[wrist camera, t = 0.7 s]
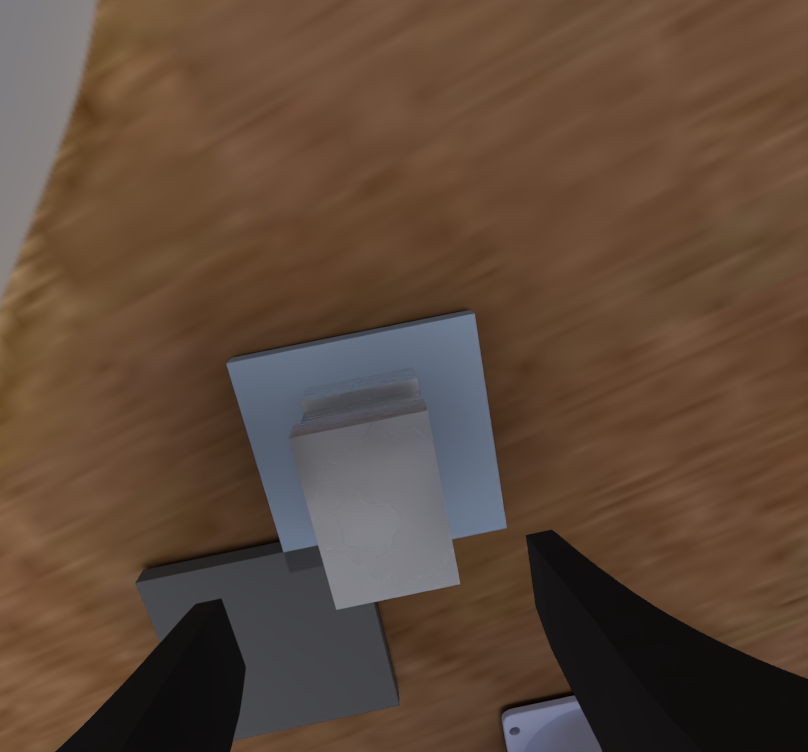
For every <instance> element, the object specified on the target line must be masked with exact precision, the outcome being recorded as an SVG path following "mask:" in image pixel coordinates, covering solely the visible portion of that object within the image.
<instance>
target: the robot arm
mask: <svg viewBox="0 0 808 752" xmlns="http://www.w3.org/2000/svg"><path fill="white" fill-rule="evenodd" d="M526 539H527V546H528V554H529V561H530V568H531V576H532V583H533V590H534V597H535V605H536V608H537V611H538V614H539V617H540V619H541V622H542V625H543V628H544V630H545V633H546V636H547V638H548V641H549V644H550V646H551V649H552V651H553V653H554V655H555V657H556V659H557V661H558V663H559V665H560V667H561V669H562V671H563V673H564V675H565V677H566V679H567V681H568V683H569V685H570V687H571V689H572V691H573V693H574V696H569V697H564V698H560V699H555V700H550V701H546V702H541V703H536V704H531V705H527V706H522V707H517V708H512V709H509V710H506V711H505V712H504V713H503V715H502V725H503V731H504V736H505V742H506V748H507V752H808V679H806V678H804V677H801V676H798V675H796V674H793V673H791V672H788V671H785V670H783V669H780V668H778V667H775V666H773V665H770V664H768V663H766V662H763V661H761V660H758V659H756V658H754V657H751V656H749V655H747V654H745V653H743V652H741V651H738V650H736V649H734V648H732V647H730V646H728V645H726V644H723V643H721V642H719V641H717V640H715V639H713V638H711V637H709V636H707V635H705V634H703V633H701V632H699V631H697V630H696V629H694V628H692V627H690V626H688V625H686V624H685V623H683V622H681V621H679V620H677V619H676V618H674V617H672V616H670V615H668V614H667V613H665V612H663V611H662V610H660V609H658V608H657V607H655V606H654V605H652V604H651V603H649V602H647V601H646V600H644V599H643V598H641V597H640V596H638V595H637V594H635V593H634V592H632V591H631V590H629V589H628V588H627V587H625V586H624V585H622V584H621V583H619V582H618V581H617V580H615V579H614V578H613V577H611V576H610V575H609V574H607V573H606V572H604V571H603V570H602V569H600V568H599V567H598V566H596V565H595V564H594V563H593V562H591V561H590V560H589V559H587V558H586V557H585V556H584V555H582V554H581V553H580V552H579V551H577V550H576V549H575V548H574V547H573V546H571V545H570V544H569V543H568V542H566V541H565V540H564V539H563V538H562V537H560V536H559V535H558V534H557V533H555V532H554V531H553V530H548V531H544V532H539V533H534V534H529V535H526ZM245 672H246V665H245V662H244V660H243V657H242V654H241V651H240V648H239V646H238V643H237V640H236V637H235V634H234V632H233V629H232V626H231V623H230V621H229V618H228V615H227V612H226V609H225V607H224V604H223V601H222V598H221V599H216V600H211V601H206V602H202V603H197V604H195V605H194V606H193V607H192V608H191V609H190V610H189V611H188V612H187V613H186V614H185V615H184V617H183V618H182V619H181V620H180V621H179V622H178V623H177V624H176V626H175V627H174V628H173V629H172V630H171V631H170V632H169V633H168V635H167V636H166V637H165V638H164V639H163V640H162V641H161V643H160V644H159V645H158V646H157V647H156V648H155V649H154V650H153V652H152V653H151V654H150V655H149V656H148V657H147V658H146V659H145V661H144V662H143V663H142V664H141V665H140V666H139V667H138V668H137V669H136V671H135V672H134V673H133V674H132V675H131V676H130V677H129V678H128V679H127V680H126V682H125V683H124V684H123V685H122V686H121V687H120V688H119V689H118V690H117V691H116V692H115V693H114V694H113V695H112V696H111V697H110V698H109V699H108V700H107V701H106V702H105V703H104V704H103V705H102V707H101V708H100V709H99V710H98V711H97V712H96V713H95V714H94V715H93V716H92V717H91V718H90V719H89V720H88V721H87V722H86V723H85V724H84V725H83V726H82V727H81V728H80V729H79V730H78V731H77V732H76V733H75V734H74V735H73V736H72V737H71V738H69V739H68V740H67V741H66V742H65V743H64V744H63V745H62V746H61V747H60V748H59V749H58V750H57V751H55V752H230V750H231V746H232V742H233V738H234V735H235V731H236V727H237V723H238V719H239V715H240V709H241V702H242V695H243V688H244V680H245ZM513 727H514V728H513Z"/></svg>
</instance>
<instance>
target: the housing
mask: <svg viewBox="0 0 808 752" xmlns="http://www.w3.org/2000/svg"><path fill="white" fill-rule="evenodd" d="M301 403H302V406H303V410H304V415H303V418H302V421H301V423H296V424H293V427H292V430H291V433H290V436H289V442H290V446H291V449H292V453H293V457H294V460H295V464H296V467H297V471H298V475H299V478H300V482H301V485H302V489H303V492H304V496H305V500H306V503H307V507H308V510H309V514H310V518H311V521H312V525H313V528H314V532H315V535H316V539H317V543H318V546H319V550H320V553H321V557H322V561H323V564H324V568H325V571H326V575H327V578H328V582H329V586H330V589H331V593H332V596H333V600H334V604H335V607H336V610H338V609H343V608H348V607H353V606H358V605H362V604H367V603H372V602H377V601H382V600H386V599H391V598H396V597H401V596H406V595H410V594H415V593H420V592H425V591H430V590H434V589H439V588H444V587H449V586H454V585H458V584H460V580H459V575H458V569H457V564H456V559H455V554H454V548H453V543H452V538H451V532H450V527H449V522H448V516H447V511H446V506H445V500H444V495H443V490H442V484H441V479H440V474H439V468H438V463H437V458H436V452H435V447H434V442H433V437H432V431H431V426H430V421H429V415H428V410H427V407H426V404H425V401H424V398H422V396H421V393H420V390H419V385H418V380H417V376H416V373H415V370H414V367H411V368H406V369H401V370H396V371H391V372H386V373H381V374H376V375H371V376H366V377H362V378H357V379H352V380H347V381H342V382H337V383H332V384H327V385H322V386H317V387H312V388H307V389H305V392H304V395H303V398H302V401H301Z"/></svg>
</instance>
